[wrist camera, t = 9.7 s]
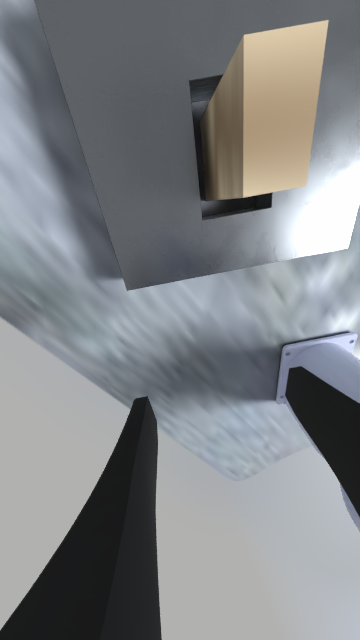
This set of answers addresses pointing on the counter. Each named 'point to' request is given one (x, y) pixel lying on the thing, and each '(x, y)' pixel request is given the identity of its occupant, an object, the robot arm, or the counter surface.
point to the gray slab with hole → (178, 134)
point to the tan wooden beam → (264, 114)
